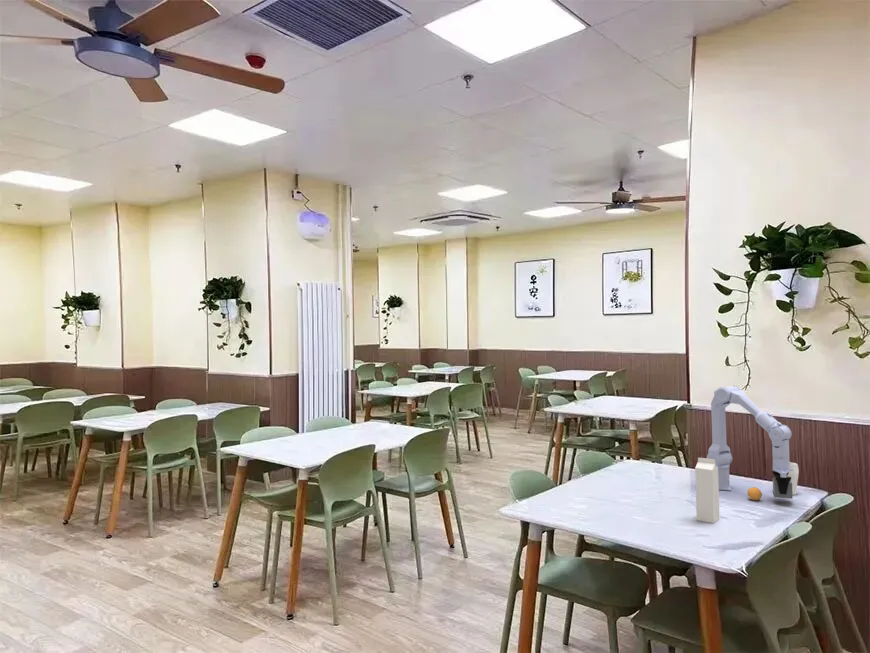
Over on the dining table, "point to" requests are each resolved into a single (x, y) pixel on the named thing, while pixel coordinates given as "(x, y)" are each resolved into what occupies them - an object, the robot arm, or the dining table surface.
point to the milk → (707, 490)
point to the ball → (754, 493)
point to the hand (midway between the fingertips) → (782, 491)
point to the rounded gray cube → (777, 493)
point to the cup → (793, 476)
